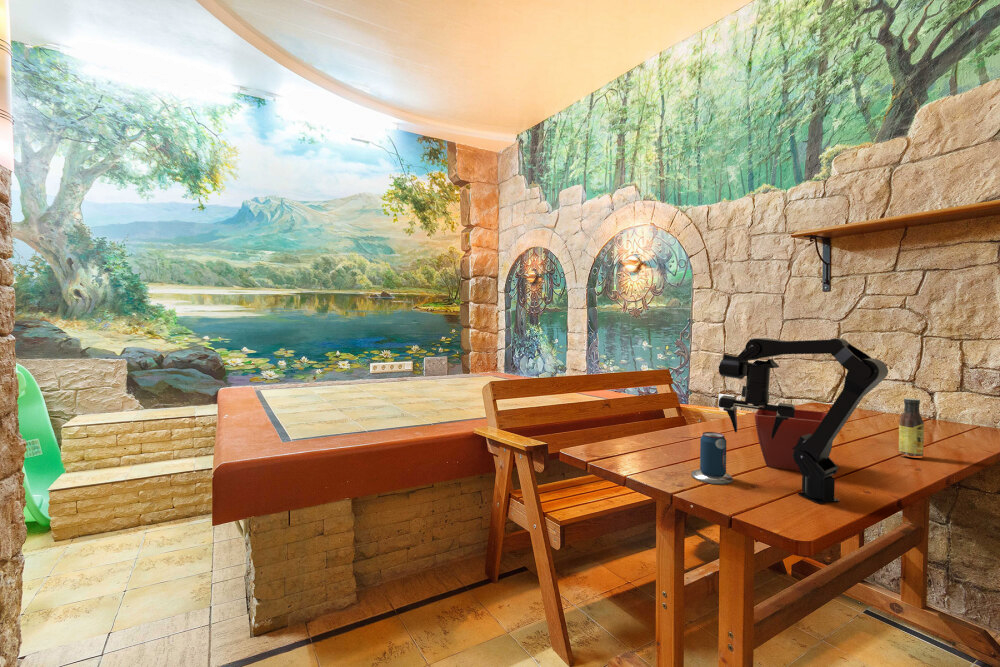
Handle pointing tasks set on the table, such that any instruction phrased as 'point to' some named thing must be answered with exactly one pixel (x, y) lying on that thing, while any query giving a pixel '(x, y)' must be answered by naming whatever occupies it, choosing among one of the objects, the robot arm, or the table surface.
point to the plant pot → (784, 435)
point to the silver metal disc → (719, 481)
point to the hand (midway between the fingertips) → (753, 435)
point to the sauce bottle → (911, 429)
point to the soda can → (713, 454)
